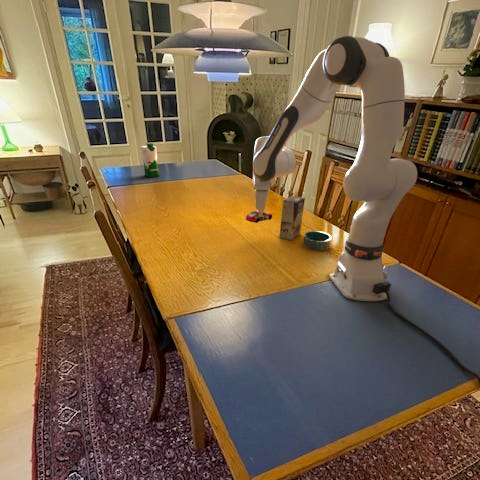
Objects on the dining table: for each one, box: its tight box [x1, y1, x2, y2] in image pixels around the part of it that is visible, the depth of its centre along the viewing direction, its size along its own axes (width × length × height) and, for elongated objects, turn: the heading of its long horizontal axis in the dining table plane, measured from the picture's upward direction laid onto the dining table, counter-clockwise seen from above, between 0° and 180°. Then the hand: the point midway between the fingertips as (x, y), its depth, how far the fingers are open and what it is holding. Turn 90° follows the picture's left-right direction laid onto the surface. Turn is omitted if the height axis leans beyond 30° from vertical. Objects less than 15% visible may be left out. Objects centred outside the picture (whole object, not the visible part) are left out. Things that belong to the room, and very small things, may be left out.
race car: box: [245, 209, 273, 224], centre depth 149 cm, size 13×5×4 cm, turn 127°
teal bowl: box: [302, 230, 332, 252], centre depth 143 cm, size 11×11×4 cm
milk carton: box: [140, 142, 160, 178], centre depth 227 cm, size 9×9×20 cm
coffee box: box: [279, 195, 306, 241], centre depth 148 cm, size 9×6×16 cm
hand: (261, 213), depth 148 cm, fingers closed on race car, 6 cm apart
